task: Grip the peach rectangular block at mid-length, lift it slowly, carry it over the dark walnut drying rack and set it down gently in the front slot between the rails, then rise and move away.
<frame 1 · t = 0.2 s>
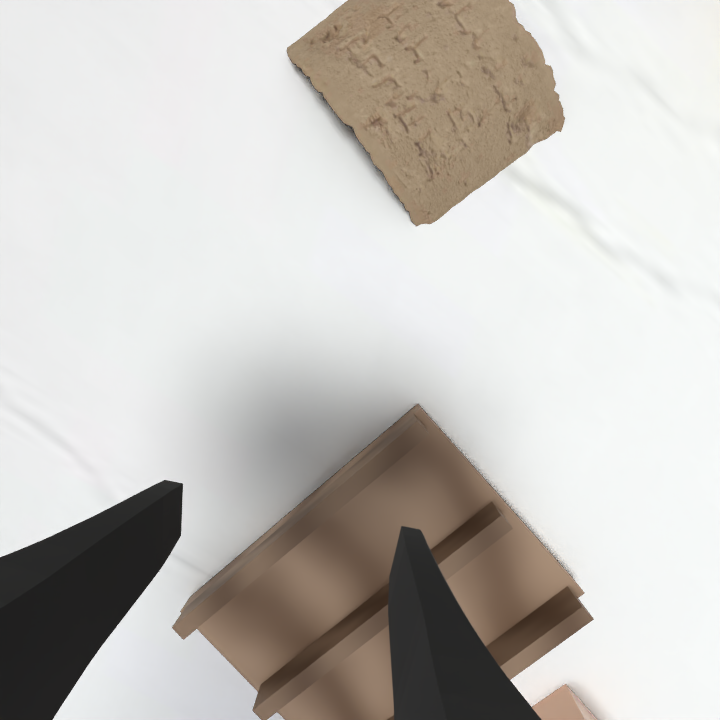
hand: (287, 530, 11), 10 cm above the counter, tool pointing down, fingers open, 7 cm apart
clay tablet: (420, 98, 20), on the counter
rack: (376, 587, 22), on the counter
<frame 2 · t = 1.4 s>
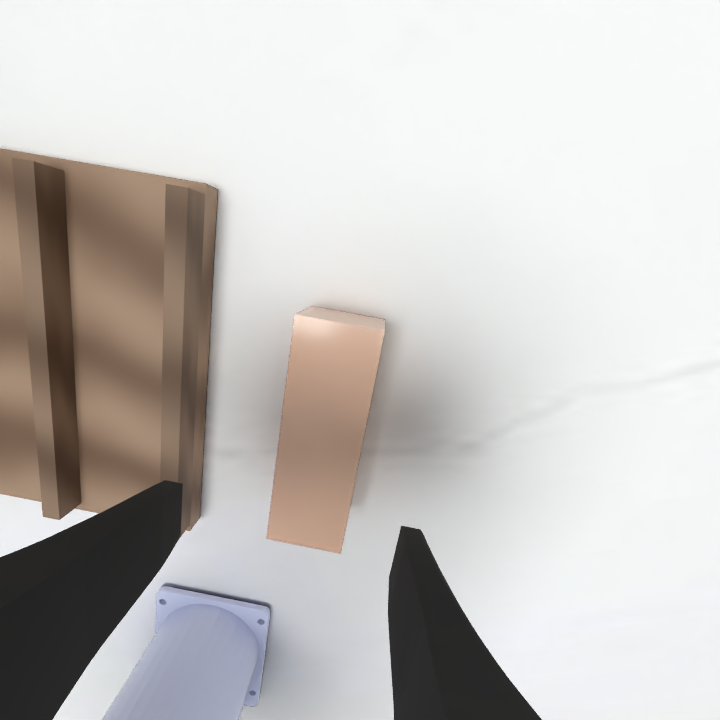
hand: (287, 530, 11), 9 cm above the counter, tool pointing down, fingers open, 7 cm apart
rack: (83, 351, 20), on the counter
peach rectangular block: (332, 411, 20), on the counter
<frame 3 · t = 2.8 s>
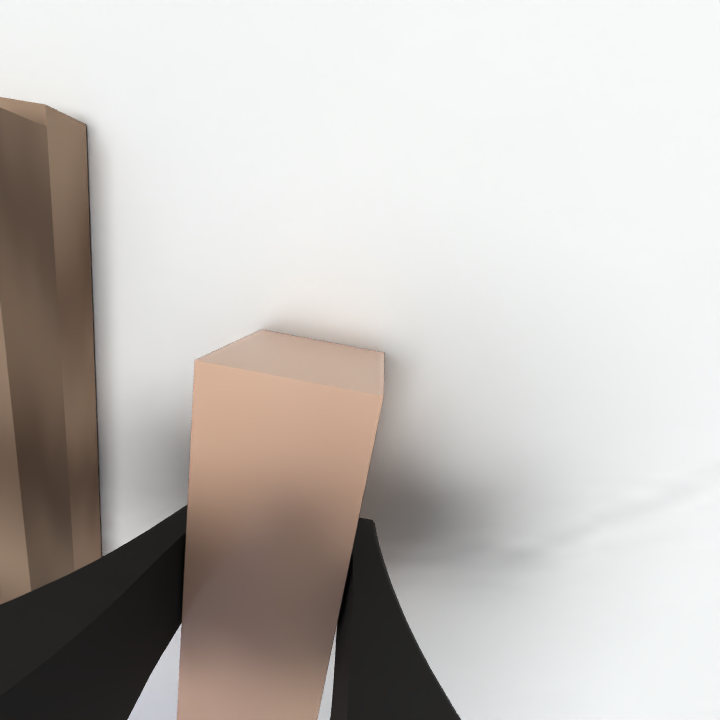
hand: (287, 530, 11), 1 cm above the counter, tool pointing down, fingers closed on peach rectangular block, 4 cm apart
peach rectangular block: (299, 499, 12), on the counter, touching gripper
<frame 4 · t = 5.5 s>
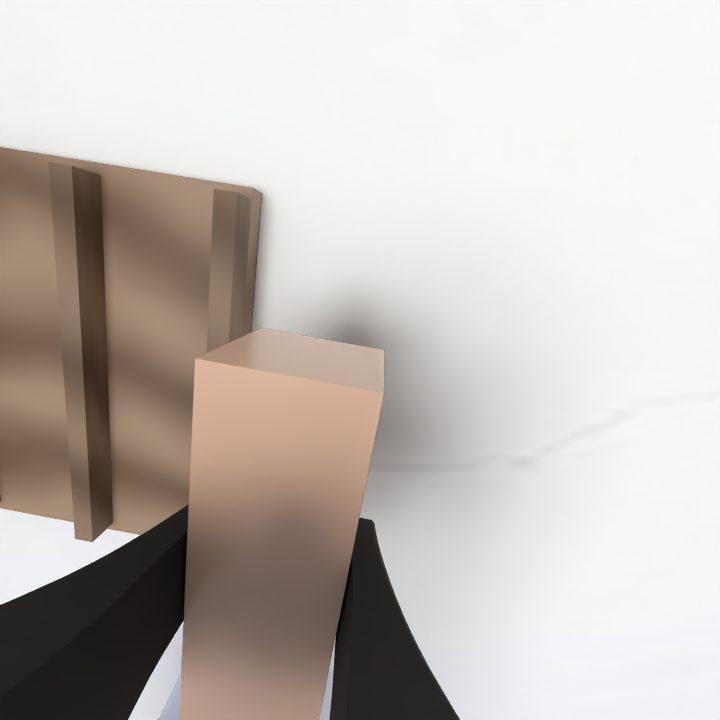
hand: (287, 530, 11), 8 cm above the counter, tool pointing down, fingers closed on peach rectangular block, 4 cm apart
rack: (116, 365, 19), on the counter
peach rectangular block: (300, 497, 13), point 7 cm above the counter, touching gripper
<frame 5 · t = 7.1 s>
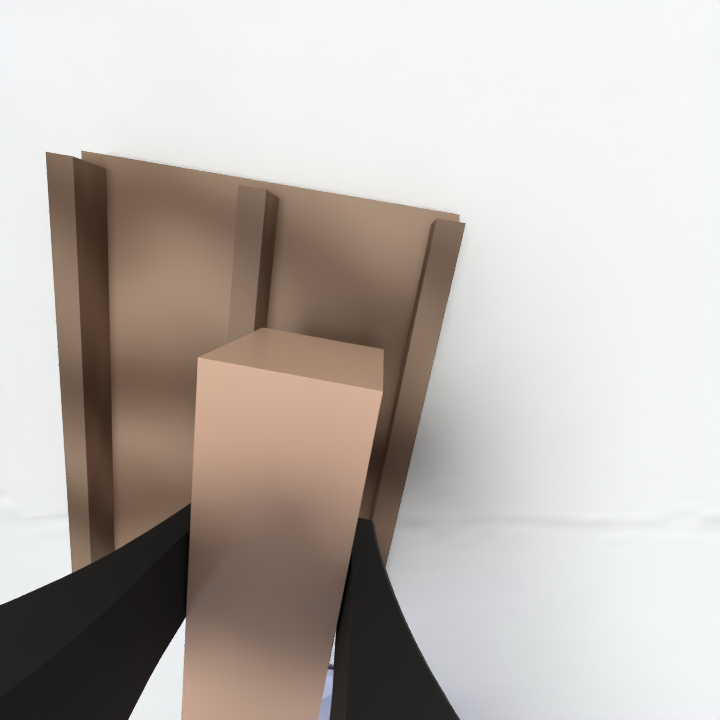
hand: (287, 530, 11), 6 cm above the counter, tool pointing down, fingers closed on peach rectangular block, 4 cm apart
rack: (256, 407, 17), on the counter
peach rectangular block: (300, 495, 13), point 5 cm above the counter, touching gripper
when the fingers open (4 cm above the counter, at t = 8.4 s): peach rectangular block stays where it is, resting on rack.
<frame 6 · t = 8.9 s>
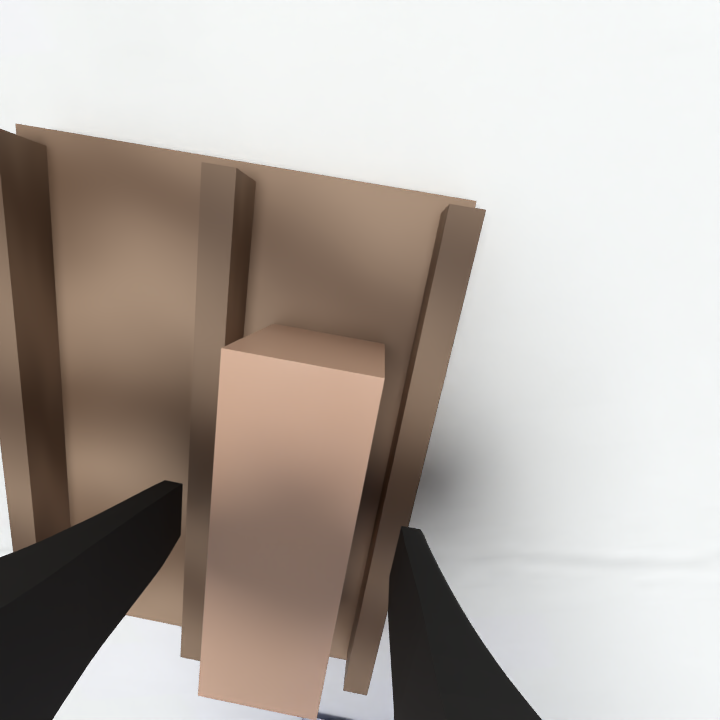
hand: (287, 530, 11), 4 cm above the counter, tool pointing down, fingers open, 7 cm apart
rack: (235, 428, 15), on the counter
peach rectangular block: (306, 480, 14), point 1 cm above the counter, touching rack
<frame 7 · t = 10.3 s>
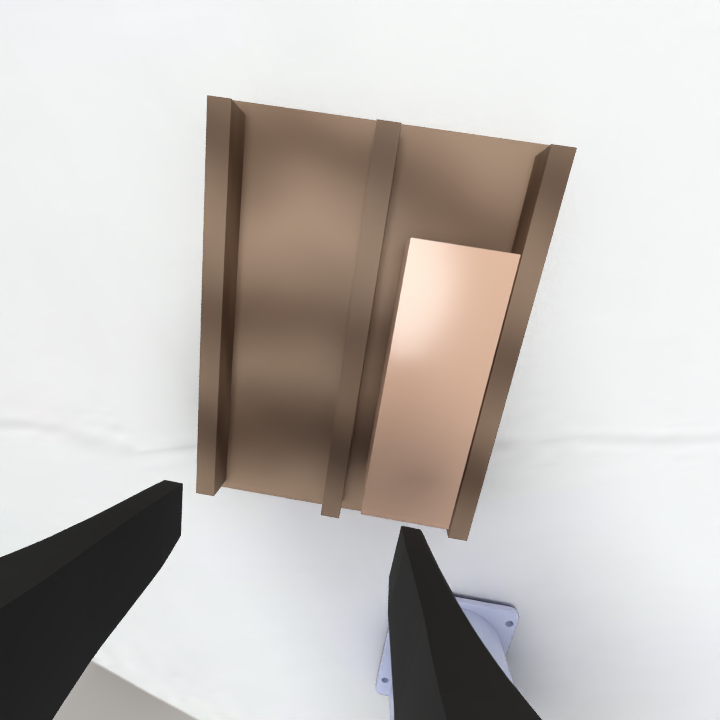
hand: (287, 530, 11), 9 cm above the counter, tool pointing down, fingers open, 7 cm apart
rack: (359, 338, 19), on the counter
peach rectangular block: (421, 371, 18), point 1 cm above the counter, touching rack
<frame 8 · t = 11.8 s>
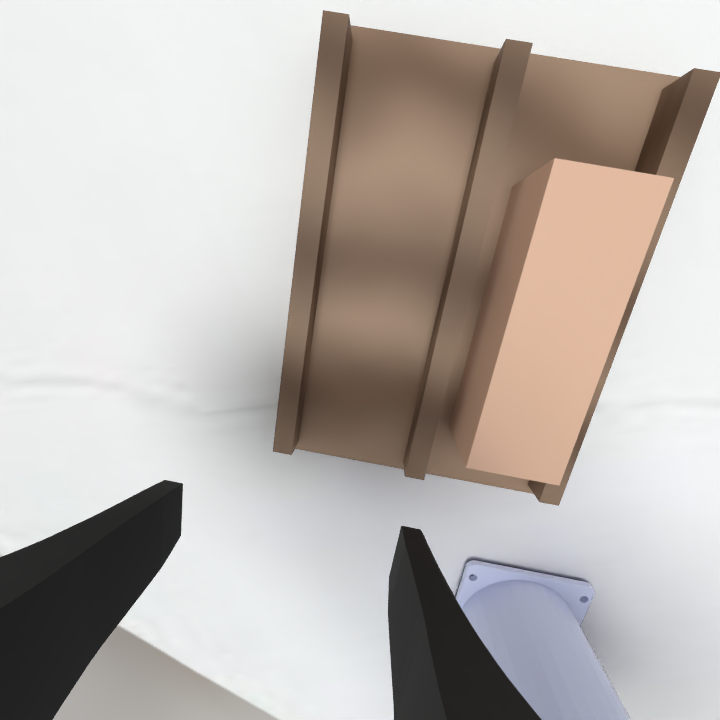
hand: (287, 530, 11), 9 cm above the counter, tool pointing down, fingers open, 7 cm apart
rack: (447, 291, 18), on the counter
peach rectangular block: (517, 324, 17), point 1 cm above the counter, touching rack
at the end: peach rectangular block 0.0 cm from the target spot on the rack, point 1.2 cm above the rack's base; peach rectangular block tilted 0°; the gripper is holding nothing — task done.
